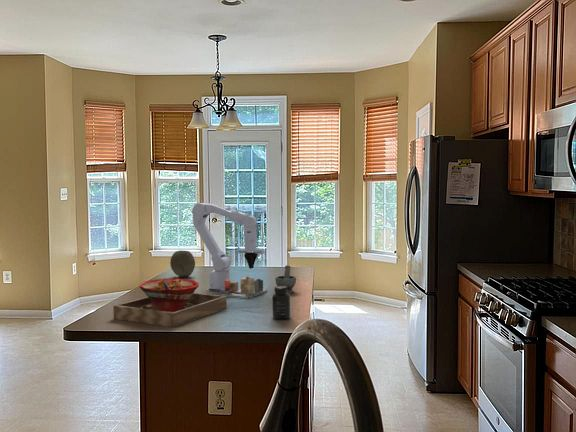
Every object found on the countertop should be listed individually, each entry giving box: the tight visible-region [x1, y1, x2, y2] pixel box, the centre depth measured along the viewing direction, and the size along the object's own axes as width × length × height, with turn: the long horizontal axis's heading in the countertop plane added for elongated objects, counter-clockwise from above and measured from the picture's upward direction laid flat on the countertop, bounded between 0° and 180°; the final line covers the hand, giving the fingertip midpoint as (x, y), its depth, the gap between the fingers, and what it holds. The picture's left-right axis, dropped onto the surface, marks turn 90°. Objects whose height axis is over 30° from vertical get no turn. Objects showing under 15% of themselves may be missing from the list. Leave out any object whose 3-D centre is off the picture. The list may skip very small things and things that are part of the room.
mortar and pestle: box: [275, 265, 297, 294], centre depth 257 cm, size 11×9×12 cm
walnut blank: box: [230, 280, 239, 294], centre depth 256 cm, size 5×4×5 cm
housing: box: [239, 276, 256, 291], centre depth 255 cm, size 5×4×6 cm
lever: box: [222, 279, 232, 294], centre depth 248 cm, size 4×3×6 cm
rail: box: [219, 290, 253, 300], centre depth 246 cm, size 15×3×2 cm, turn 62°
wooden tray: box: [112, 292, 228, 328], centre depth 215 cm, size 29×33×5 cm
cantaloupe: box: [169, 249, 196, 278], centre depth 301 cm, size 14×14×15 cm
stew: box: [139, 277, 200, 312], centre depth 213 cm, size 28×24×16 cm
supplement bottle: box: [271, 285, 291, 321], centre depth 205 cm, size 7×7×12 cm
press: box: [233, 278, 268, 297], centre depth 254 cm, size 11×12×7 cm
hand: (251, 268), depth 263 cm, fingers closed
